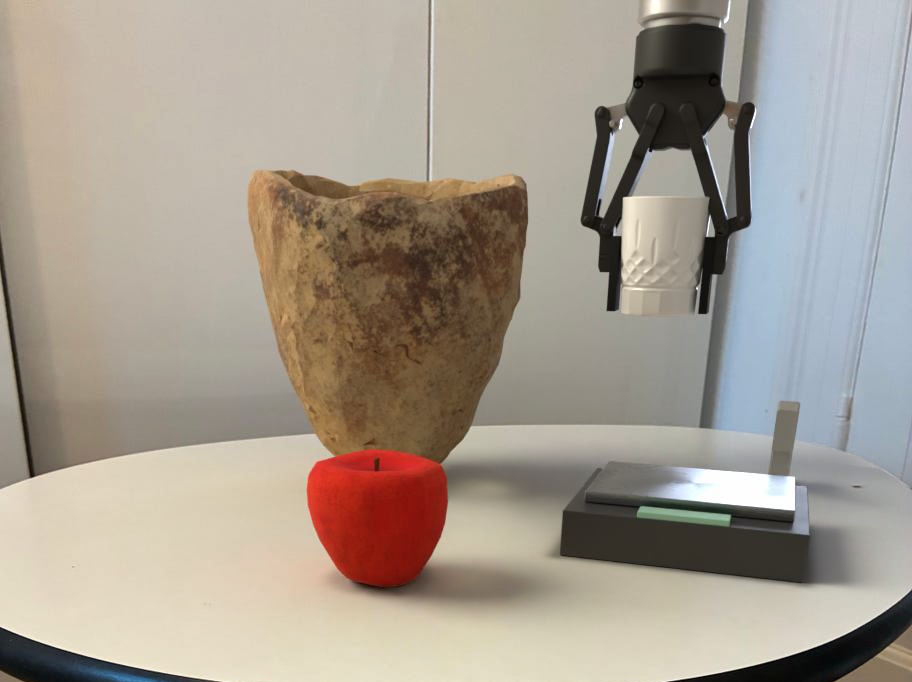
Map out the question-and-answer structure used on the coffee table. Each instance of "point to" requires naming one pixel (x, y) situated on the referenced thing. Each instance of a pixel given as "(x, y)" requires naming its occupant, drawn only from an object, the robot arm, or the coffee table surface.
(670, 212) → the white cup
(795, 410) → the beige upright slab
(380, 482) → the apple
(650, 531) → the scale
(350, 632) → the coffee table surface
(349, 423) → the brown clay pot
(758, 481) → the scale pan
